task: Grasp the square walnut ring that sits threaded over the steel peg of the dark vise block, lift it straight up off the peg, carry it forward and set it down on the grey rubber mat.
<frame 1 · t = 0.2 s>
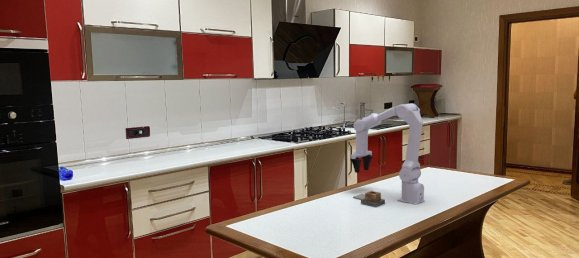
hand: (361, 171, 212), 10 cm above the table, tool pointing down, fingers open, 7 cm apart
vise block: (372, 203, 190), on the table
mat: (363, 197, 200), on the table
ring: (372, 199, 190), point 2 cm above the table, touching vise block
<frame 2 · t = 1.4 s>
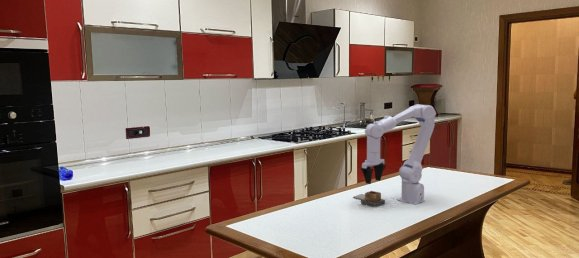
hand: (373, 181, 189), 10 cm above the table, tool pointing down, fingers open, 7 cm apart
nothing on the table moved.
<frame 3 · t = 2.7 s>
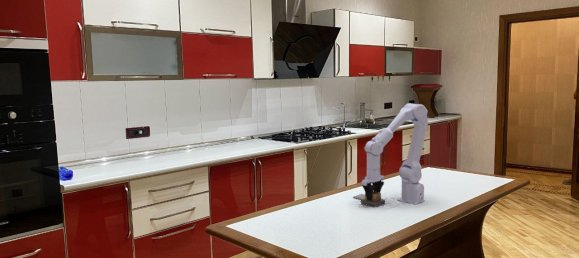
hand: (372, 198, 190), 2 cm above the table, tool pointing down, fingers closed on ring, 5 cm apart
ring: (372, 199, 190), point 2 cm above the table, touching gripper, vise block
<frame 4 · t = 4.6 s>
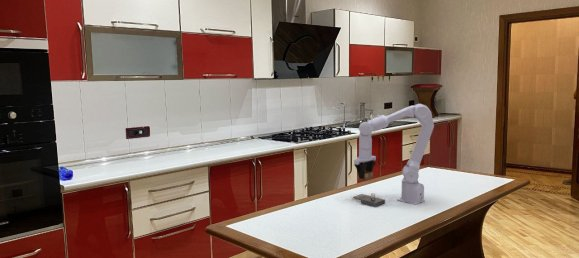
hand: (364, 177, 197), 10 cm above the table, tool pointing down, fingers closed on ring, 5 cm apart
ring: (364, 178, 197), point 9 cm above the table, touching gripper
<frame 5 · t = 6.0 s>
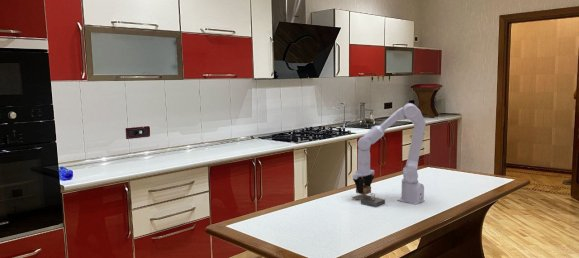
hand: (363, 191, 199), 3 cm above the table, tool pointing down, fingers closed on ring, 5 cm apart
ring: (363, 192, 199), point 2 cm above the table, touching gripper
when the fingers open (2 cm above the table, at t = 6.8 s): ring stays where it is, resting on mat.
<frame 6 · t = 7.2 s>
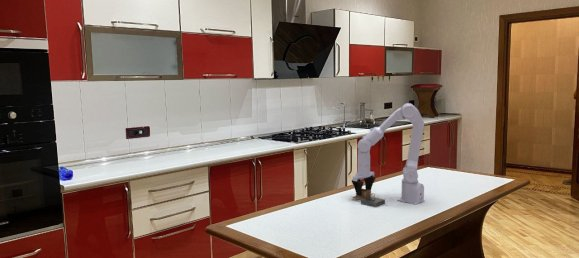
hand: (363, 193, 199), 2 cm above the table, tool pointing down, fingers open, 7 cm apart
ring: (363, 196, 200), point 1 cm above the table, touching mat
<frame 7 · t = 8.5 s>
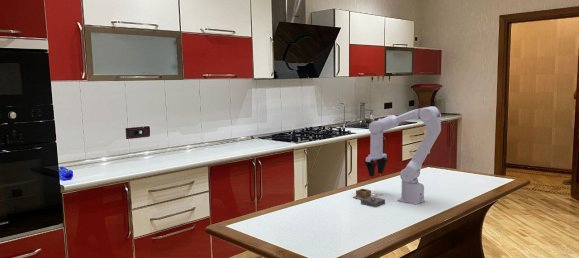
hand: (376, 174, 203), 10 cm above the table, tool pointing down, fingers open, 7 cm apart
nothing on the table moved.
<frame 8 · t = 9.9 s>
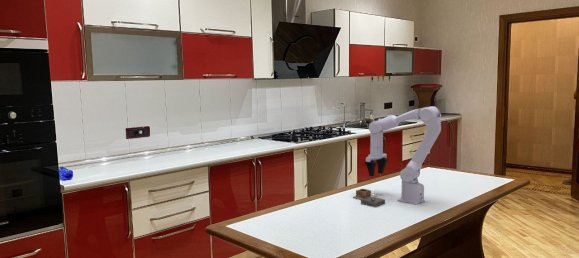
hand: (376, 174, 203), 10 cm above the table, tool pointing down, fingers open, 7 cm apart
nothing on the table moved.
at the end: ring inside the target area on the mat (0.0 cm from its centre), point 0.6 cm above the mat's base; ring touching mat; the gripper is holding nothing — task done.
